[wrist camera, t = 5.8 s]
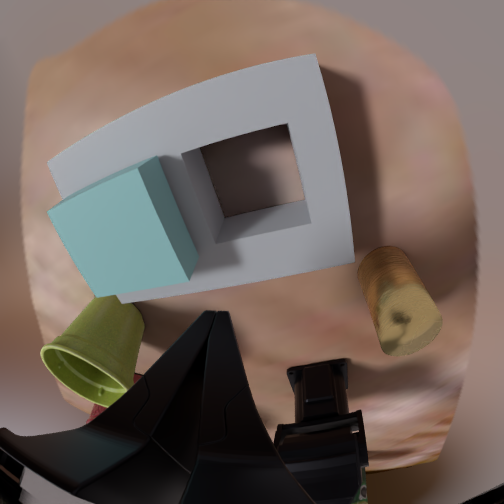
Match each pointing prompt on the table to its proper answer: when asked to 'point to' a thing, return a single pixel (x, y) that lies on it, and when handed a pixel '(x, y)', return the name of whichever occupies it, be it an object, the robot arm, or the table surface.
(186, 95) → the jig
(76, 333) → the plant pot
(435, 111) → the table surface
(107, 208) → the teal block
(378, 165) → the table surface
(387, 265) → the brass cylinder
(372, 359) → the table surface
